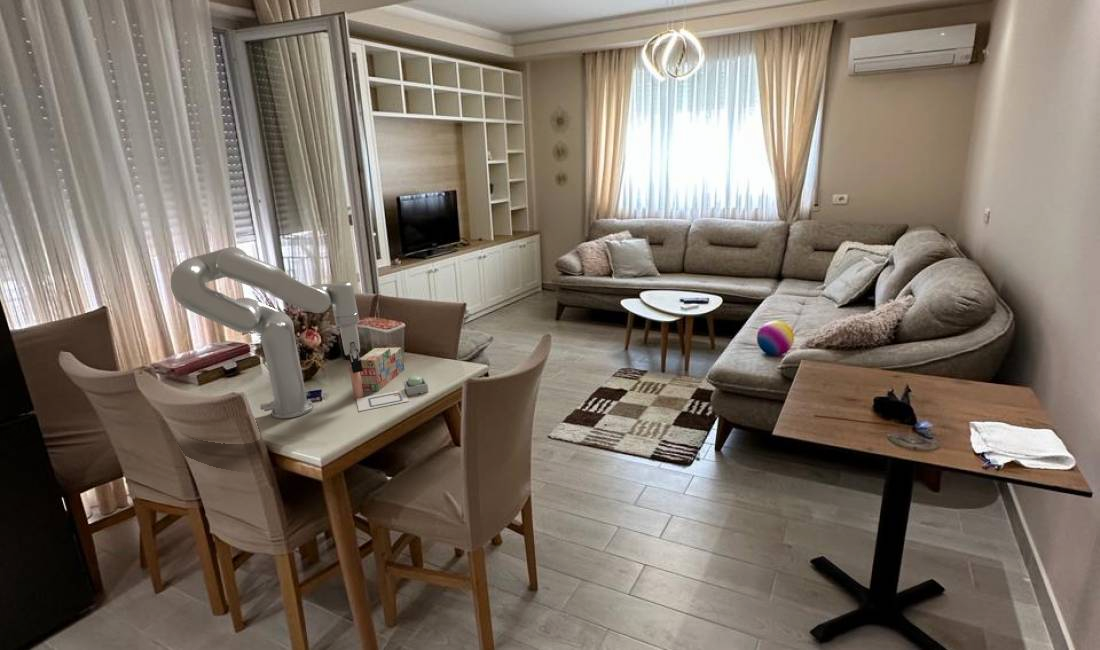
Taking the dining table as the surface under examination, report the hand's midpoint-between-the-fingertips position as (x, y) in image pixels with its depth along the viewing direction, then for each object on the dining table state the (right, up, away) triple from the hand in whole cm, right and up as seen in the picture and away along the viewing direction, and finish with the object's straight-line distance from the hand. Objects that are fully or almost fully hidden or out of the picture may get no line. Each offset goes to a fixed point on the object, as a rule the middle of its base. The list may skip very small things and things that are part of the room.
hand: (356, 367), depth 195 cm
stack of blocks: (+4, -6, +18) cm, 20 cm away
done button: (+19, -7, +5) cm, 21 cm away
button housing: (+19, -9, +6) cm, 22 cm away
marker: (0, -11, +3) cm, 11 cm away
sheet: (+9, -11, -1) cm, 14 cm away
